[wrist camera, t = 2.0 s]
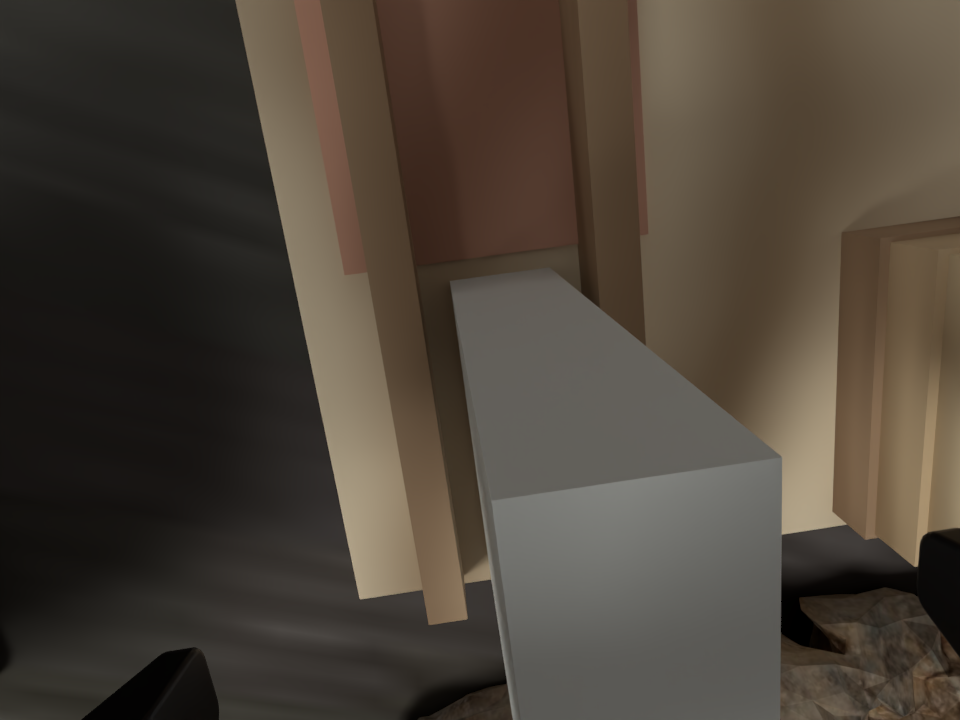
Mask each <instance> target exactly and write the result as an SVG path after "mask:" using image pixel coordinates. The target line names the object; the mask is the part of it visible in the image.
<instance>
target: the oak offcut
mask: <svg viewBox="0 0 960 720" xmlns="http://www.w3.org/2000/svg"><path fill="white" fill-rule="evenodd" d="M955 253H960V233H955V234H947V235H940V236H933V237H926V238H918V239H911V240H904V241H897V242H891V245H890V263H889V281H888V300H887V318H886V336H885V355H884V373H883V391H882V410H881V428H880V446H879V465H878V483H877V501H876V520H875V535H876V536H878V537H879V538H880V539H881V540H882V541H884V542H885V543H886V544H887V545H889V546H890V547H891V548H892V549H893V550H895V551H896V552H897V553H898V554H900V555H901V556H902V557H903V558H904V559H906V560H907V561H908V562H909V563H911V564H912V565H913V566H914V567H917V566H918V560H919V547H920V540H921V539H922V537H923V535H925V534H926V533H927V527H928V515H929V502H930V490H931V478H932V465H933V453H934V440H935V428H936V415H937V403H938V391H939V378H940V366H941V353H942V341H943V329H944V316H945V304H946V291H947V279H948V266H949V254H955Z"/></svg>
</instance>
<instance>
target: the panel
mask: <svg viewBox="0 0 960 720" xmlns="http://www.w3.org/2000/svg"><path fill="white" fill-rule="evenodd" d="M450 287H451V294H452V301H453V308H454V316H455V323H456V330H457V337H458V344H459V352H460V359H461V366H462V373H463V380H464V388H465V395H466V402H467V409H468V416H469V424H470V431H471V438H472V445H473V452H474V460H475V467H476V474H477V481H478V488H479V495H480V503H481V510H482V517H483V524H484V531H485V539H486V546H487V553H488V560H489V567H490V574H491V581H492V587H493V594H494V600H495V607H496V613H497V620H498V626H499V633H500V639H501V646H502V652H503V659H504V665H505V672H506V678H507V685H508V691H509V698H510V704H511V711H512V717H513V720H780V667H781V548H782V457H781V456H780V455H779V454H778V453H776V452H775V451H774V450H773V449H771V448H770V447H769V446H768V445H767V444H765V443H764V442H763V441H762V440H760V439H759V438H758V437H757V436H756V435H754V434H753V433H752V432H751V431H749V430H748V429H747V428H746V427H745V426H743V425H742V424H741V423H740V422H738V421H737V420H736V419H735V418H733V417H732V416H731V415H730V414H729V413H727V412H726V411H725V410H724V409H722V408H721V407H720V406H719V405H718V404H716V403H715V402H714V401H713V400H711V399H710V398H709V397H708V396H707V395H705V394H704V393H703V392H702V391H700V390H699V389H698V388H697V387H695V386H694V385H693V384H692V383H691V382H689V381H688V380H687V379H686V378H684V377H683V376H682V375H681V374H680V373H678V372H677V371H676V370H675V369H673V368H672V367H671V366H670V365H668V364H667V363H666V362H665V361H664V360H662V359H661V358H660V357H659V356H657V355H656V354H655V353H654V352H653V351H651V350H650V349H649V348H648V347H646V346H645V345H644V344H643V343H642V342H640V341H639V340H638V339H637V338H635V337H634V336H633V335H632V334H630V333H629V332H628V331H627V330H626V329H624V328H623V327H622V326H621V325H619V324H618V323H617V322H616V321H615V320H613V319H612V318H611V317H610V316H608V315H607V314H606V313H605V312H604V311H602V310H601V309H600V308H599V307H597V306H596V305H595V304H594V303H592V302H591V301H590V300H589V299H588V298H586V297H585V296H584V295H583V294H581V293H580V292H579V291H578V290H577V289H575V288H574V287H573V286H572V285H570V284H569V283H568V282H567V281H566V280H564V279H563V278H562V277H561V276H559V275H558V274H557V273H556V272H554V271H553V270H552V269H551V268H550V267H548V268H541V269H533V270H526V271H519V272H511V273H504V274H497V275H490V276H482V277H475V278H468V279H460V280H453V281H450Z"/></svg>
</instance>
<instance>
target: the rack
mask: <svg viewBox="0 0 960 720" xmlns="http://www.w3.org/2000/svg"><path fill="white" fill-rule="evenodd" d="M235 1H236V5H237V10H238V15H239V20H240V25H241V30H242V34H243V39H244V44H245V49H246V54H247V58H248V63H249V68H250V73H251V78H252V82H253V87H254V92H255V97H256V102H257V107H258V111H259V116H260V121H261V126H262V131H263V135H264V140H265V145H266V150H267V155H268V159H269V164H270V169H271V174H272V179H273V184H274V188H275V193H276V198H277V203H278V208H279V212H280V217H281V222H282V227H283V232H284V237H285V241H286V246H287V251H288V256H289V261H290V265H291V270H292V275H293V280H294V285H295V289H296V294H297V299H298V304H299V309H300V314H301V318H302V323H303V328H304V333H305V338H306V342H307V347H308V352H309V357H310V362H311V367H312V371H313V376H314V381H315V386H316V391H317V395H318V400H319V405H320V410H321V415H322V419H323V424H324V429H325V434H326V439H327V444H328V448H329V453H330V458H331V463H332V468H333V472H334V477H335V482H336V487H337V492H338V496H339V501H340V506H341V511H342V516H343V521H344V525H345V530H346V535H347V540H348V545H349V549H350V554H351V559H352V564H353V569H354V574H355V578H356V583H357V588H358V593H359V598H360V599H366V598H373V597H379V596H386V595H392V594H399V593H405V592H412V591H418V590H423V594H424V600H425V606H426V611H427V617H428V623H429V625H433V624H440V623H446V622H453V621H459V620H465V619H468V617H467V606H466V594H465V583H470V582H477V581H483V580H490V579H491V574H490V567H489V560H488V553H487V546H486V539H485V531H484V524H483V517H482V510H481V503H480V495H479V488H478V481H477V474H476V467H475V460H474V452H473V445H472V438H471V431H470V424H469V416H468V409H467V402H466V395H465V388H464V380H463V373H462V366H461V359H460V352H459V344H458V337H457V330H456V323H455V316H454V308H453V301H452V294H451V287H450V281H453V280H460V279H468V278H475V277H482V276H490V275H497V274H504V273H511V272H519V271H526V270H533V269H541V268H548V267H550V268H551V269H552V270H553V271H554V272H556V273H557V274H558V275H559V276H561V277H562V278H563V279H564V280H566V281H567V282H568V283H569V284H570V285H572V286H573V287H574V288H575V289H577V290H578V291H579V292H580V293H581V294H583V295H584V296H585V297H586V298H588V299H589V300H590V301H591V302H592V303H594V304H595V305H596V306H597V307H599V308H600V309H601V310H602V311H604V312H605V313H606V314H607V315H608V316H610V317H611V318H612V319H613V320H615V321H616V322H617V323H618V324H619V325H621V326H622V327H623V328H624V329H626V330H627V331H628V332H629V333H630V334H632V335H633V336H634V337H635V338H637V339H638V340H639V341H640V342H642V343H643V344H644V345H645V346H646V347H648V348H649V349H650V350H651V351H653V352H654V353H655V354H656V355H657V356H659V357H660V358H661V359H662V360H664V361H665V362H666V363H667V364H668V365H670V366H671V367H672V368H673V369H675V370H676V371H677V372H678V373H680V374H681V375H682V376H683V377H684V378H686V379H687V380H688V381H689V382H691V383H692V384H693V385H694V386H695V387H697V388H698V389H699V390H700V391H702V392H703V393H704V394H705V395H707V396H708V397H709V398H710V399H711V400H713V401H714V402H715V403H716V404H718V405H719V406H720V407H721V408H722V409H724V410H725V411H726V412H727V413H729V414H730V415H731V416H732V417H733V418H735V419H736V420H737V421H738V422H740V423H741V424H742V425H743V426H745V427H746V428H747V429H748V430H749V431H751V432H752V433H753V434H754V435H756V436H757V437H758V438H759V439H760V440H762V441H763V442H764V443H765V444H767V445H768V446H769V447H770V448H771V449H773V450H774V451H775V452H776V453H778V454H779V455H780V456H781V457H782V534H789V533H795V532H802V531H808V530H815V529H821V528H828V527H834V526H841V525H847V524H846V523H845V522H844V521H843V520H842V519H840V518H839V517H838V516H837V515H836V514H835V513H833V512H832V506H833V476H834V446H835V416H836V386H837V356H838V325H839V295H840V265H841V235H842V232H848V231H855V230H862V229H870V228H877V227H884V226H892V225H899V224H906V223H913V222H921V221H928V220H935V219H943V218H950V217H957V216H960V0H235Z"/></svg>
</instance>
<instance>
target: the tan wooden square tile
mask: <svg viewBox="0 0 960 720" xmlns="http://www.w3.org/2000/svg"><path fill="white" fill-rule="evenodd" d="M955 233H960V216H957V217H950V218H943V219H935V220H928V221H921V222H913V223H906V224H899V225H892V226H884V227H877V228H870V229H862V230H855V231H848V232H842V235H841V265H840V295H839V325H838V356H837V386H836V416H835V446H834V476H833V506H832V512H833V513H835V514H836V515H837V516H838V517H839V518H840V519H842V520H843V521H844V522H845V523H846V524H848V525H849V526H850V527H851V528H852V529H853V530H855V531H856V532H857V533H858V534H859V535H860V536H862V537H863V538H864V539H865V540H867V539H873V538H879V537H878V536H876V535H875V520H876V501H877V483H878V465H879V446H880V428H881V410H882V391H883V373H884V355H885V336H886V318H887V300H888V281H889V263H890V245H891V242H897V241H904V240H911V239H918V238H926V237H933V236H940V235H947V234H955Z"/></svg>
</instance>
